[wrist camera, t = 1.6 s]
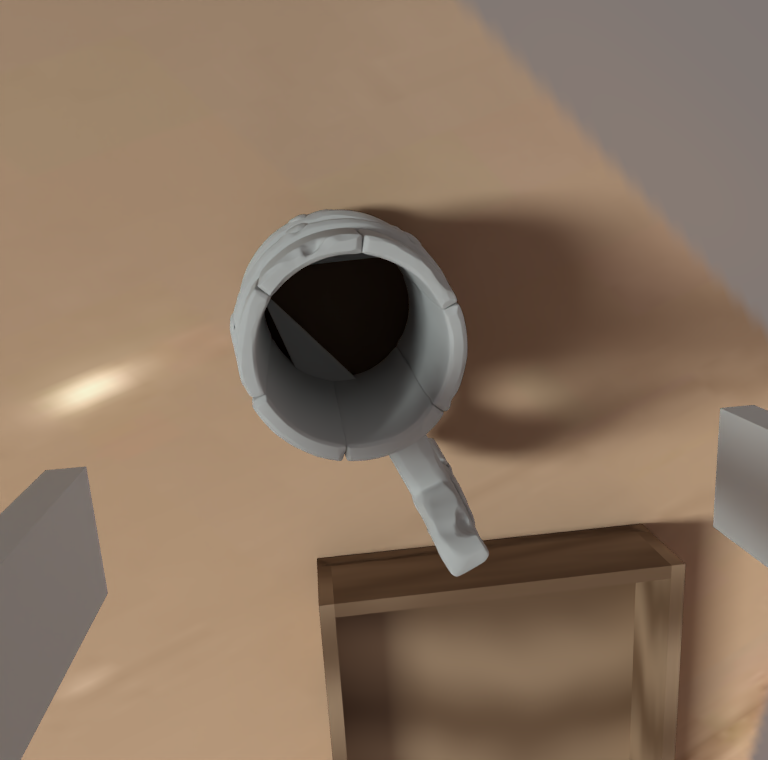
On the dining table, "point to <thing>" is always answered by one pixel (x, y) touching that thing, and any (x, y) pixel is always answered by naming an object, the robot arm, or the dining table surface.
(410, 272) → the mug
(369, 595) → the wooden tray
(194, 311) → the dining table surface
